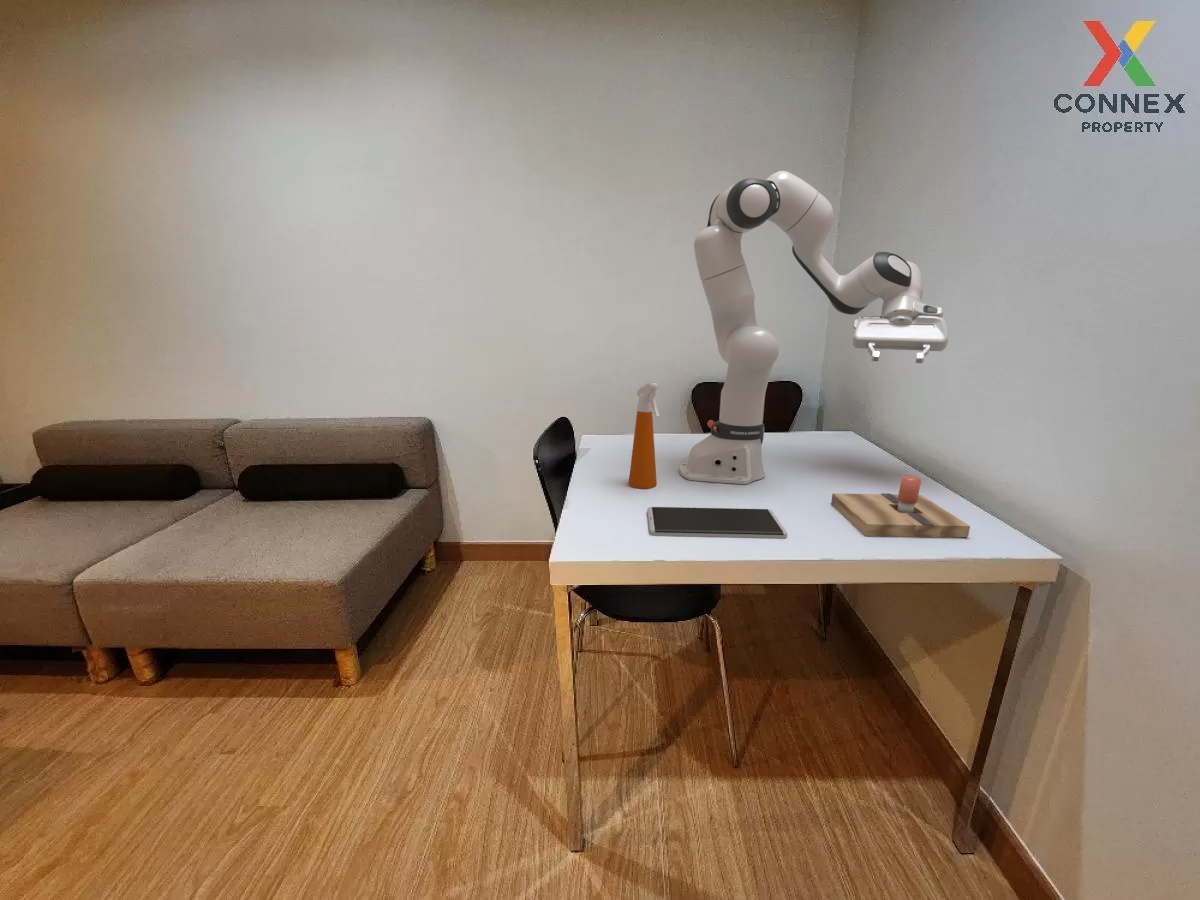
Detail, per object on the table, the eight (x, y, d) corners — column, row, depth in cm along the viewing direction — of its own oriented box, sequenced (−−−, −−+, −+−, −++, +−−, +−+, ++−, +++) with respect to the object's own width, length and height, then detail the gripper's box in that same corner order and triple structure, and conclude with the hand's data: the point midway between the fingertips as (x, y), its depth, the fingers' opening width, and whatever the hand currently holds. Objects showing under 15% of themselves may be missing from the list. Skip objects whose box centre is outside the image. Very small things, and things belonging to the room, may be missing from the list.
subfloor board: (864, 536, 109) (866, 523, 109) (831, 503, 127) (832, 492, 126) (967, 537, 109) (970, 525, 108) (919, 505, 126) (921, 494, 125)
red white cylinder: (899, 521, 116) (907, 480, 113) (891, 514, 119) (898, 475, 117) (916, 521, 116) (925, 481, 113) (907, 514, 119) (915, 475, 117)
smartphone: (788, 541, 108) (788, 533, 108) (649, 538, 109) (649, 530, 109) (770, 515, 121) (771, 508, 120) (647, 513, 122) (647, 505, 121)
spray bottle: (642, 495, 132) (645, 385, 125) (624, 481, 141) (625, 379, 134) (668, 491, 134) (673, 383, 127) (648, 478, 144) (652, 377, 137)
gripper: (855, 307, 139) (850, 350, 133) (950, 308, 130) (949, 353, 124) (853, 325, 144) (848, 366, 138) (945, 327, 135) (943, 371, 129)
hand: (897, 360), depth 131 cm, fingers open, 8 cm apart
